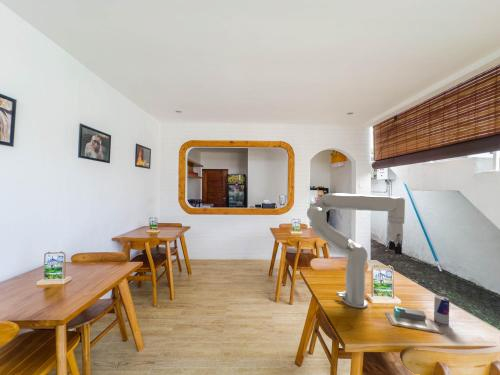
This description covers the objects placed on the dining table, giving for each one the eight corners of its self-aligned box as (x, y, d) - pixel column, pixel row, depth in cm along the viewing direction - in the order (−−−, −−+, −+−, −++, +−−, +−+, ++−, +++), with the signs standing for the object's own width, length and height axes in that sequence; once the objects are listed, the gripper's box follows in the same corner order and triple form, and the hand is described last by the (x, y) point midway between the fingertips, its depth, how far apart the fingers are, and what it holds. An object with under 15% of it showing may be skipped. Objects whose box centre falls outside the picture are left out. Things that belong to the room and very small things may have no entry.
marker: (425, 322, 107) (395, 316, 111) (422, 317, 111) (393, 311, 114) (426, 315, 107) (396, 309, 110) (423, 309, 110) (394, 304, 113)
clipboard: (391, 325, 105) (391, 322, 105) (384, 312, 116) (384, 310, 116) (444, 334, 100) (444, 331, 100) (431, 320, 110) (431, 317, 110)
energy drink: (448, 328, 104) (449, 301, 104) (433, 323, 108) (434, 297, 108) (448, 323, 108) (449, 297, 108) (434, 318, 112) (435, 293, 112)
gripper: (383, 217, 134) (382, 247, 134) (393, 221, 118) (392, 255, 118) (398, 218, 132) (397, 248, 132) (410, 222, 116) (409, 257, 116)
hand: (395, 251), depth 125 cm, fingers open, 9 cm apart
